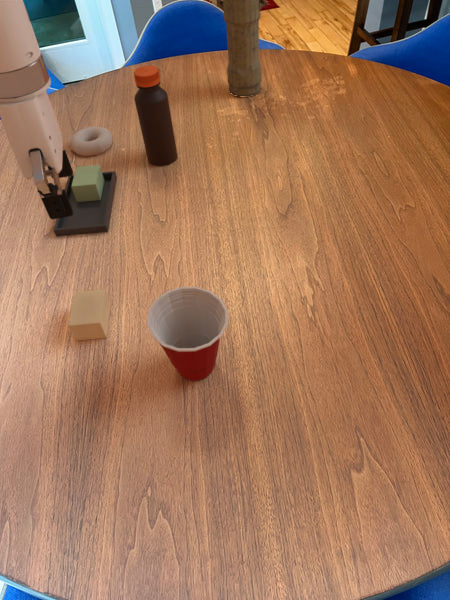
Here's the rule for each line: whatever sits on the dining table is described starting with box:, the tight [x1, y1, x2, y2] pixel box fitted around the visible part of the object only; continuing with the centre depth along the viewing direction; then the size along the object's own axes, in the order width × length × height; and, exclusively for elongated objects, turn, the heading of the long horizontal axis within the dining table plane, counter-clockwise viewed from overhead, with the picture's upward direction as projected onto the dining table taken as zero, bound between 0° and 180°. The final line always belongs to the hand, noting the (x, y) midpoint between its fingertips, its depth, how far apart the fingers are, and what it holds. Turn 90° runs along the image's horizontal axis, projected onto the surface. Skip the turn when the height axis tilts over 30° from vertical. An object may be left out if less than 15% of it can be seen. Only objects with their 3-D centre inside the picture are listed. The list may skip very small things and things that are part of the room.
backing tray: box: [53, 170, 118, 237], centre depth 98 cm, size 10×18×2 cm, turn 3°
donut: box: [69, 125, 114, 157], centre depth 113 cm, size 10×3×10 cm
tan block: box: [67, 288, 112, 341], centre depth 77 cm, size 5×7×4 cm
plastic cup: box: [146, 286, 229, 382], centre depth 67 cm, size 11×11×12 cm
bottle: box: [133, 65, 178, 167], centre depth 101 cm, size 7×7×20 cm
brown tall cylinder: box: [216, 0, 267, 97], centre depth 115 cm, size 9×12×35 cm
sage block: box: [71, 164, 104, 202], centre depth 100 cm, size 5×7×4 cm
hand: (62, 195), depth 69 cm, fingers open, 9 cm apart
